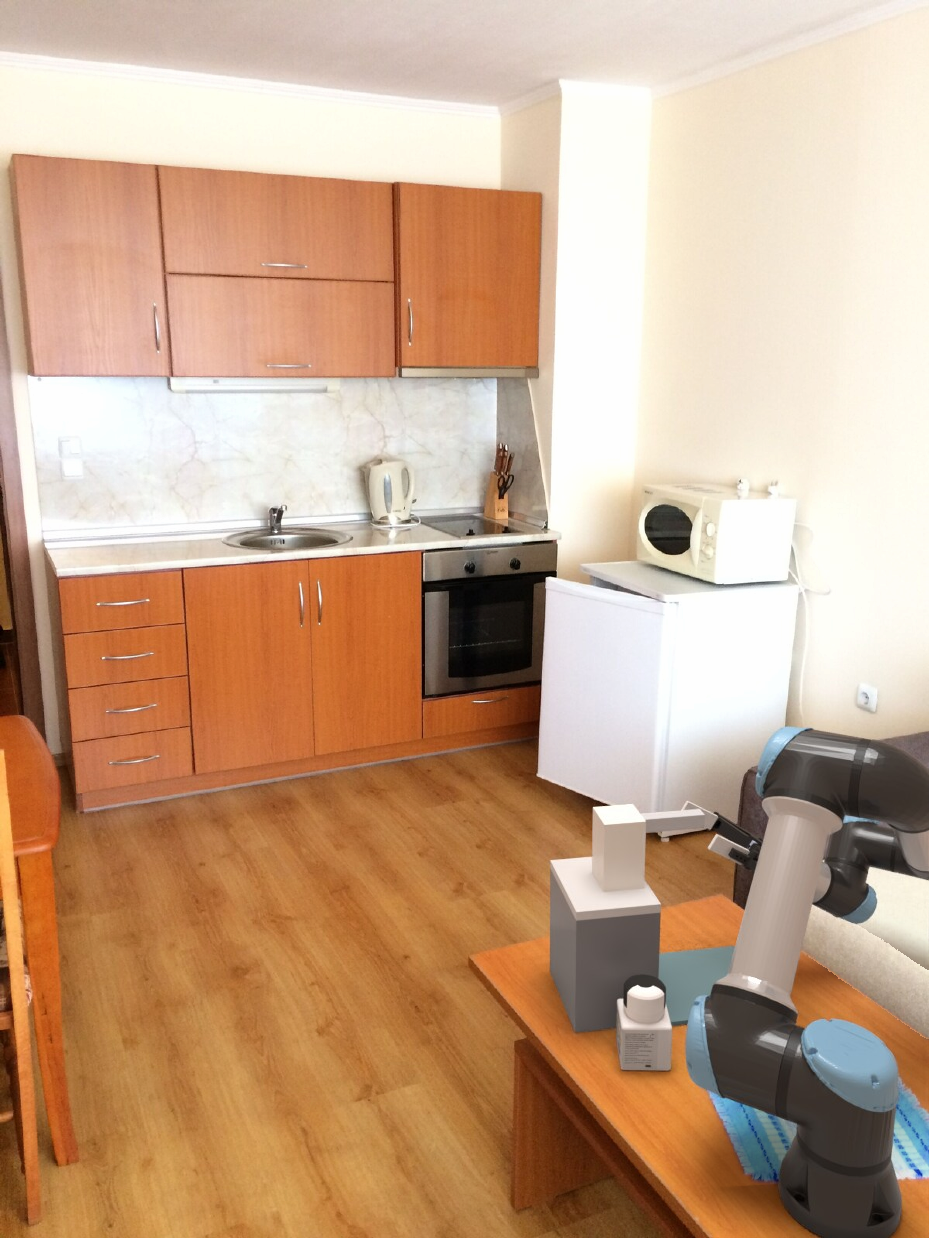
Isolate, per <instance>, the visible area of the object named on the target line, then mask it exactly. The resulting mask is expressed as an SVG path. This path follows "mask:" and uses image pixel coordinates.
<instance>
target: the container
mask: <svg viewBox="0 0 929 1238" xmlns="http://www.w3.org/2000/svg"><path fill="white" fill-rule="evenodd" d="M615 1031H616V1032H615V1035H616V1036H615V1040H616V1045H617V1046H616V1047H617V1054H618V1058H619V1065H620V1069H621V1070H622V1071H666V1072H667V1071H670V1070H671V1069H672V1046H673V1045H672V1043H673V1041H672V1040H673V1026H671V1022H670V1018H669V1014H668V1010H667V1006H666V987H665V985H664V983H663V982H662V981H661V980H660V979H658V978H656V977H654V976H651V975H644V974H640V975H634V976H631V977H630V978H628V979H627V980H626V981H625V983H624V992H623V999H618V1000H617V1024H616V1029H615Z"/></svg>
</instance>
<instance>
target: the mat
mask: <svg viewBox="0 0 929 1238" xmlns="http://www.w3.org/2000/svg"><path fill="white" fill-rule="evenodd" d="M734 949H735V945H727V946H719V947H708V948H698V949H687V950H680V951H679V950H677V951H670V952H659V979H660V980H661V981H662V982H663V983H664V985H665V987H666V1006H667V1010H668V1014H669V1018H670V1022H671V1026H672V1027H675V1026H676V1027H677V1026H685V1025H686V1026H687V1024H688V1019H689V1014H690V1011H691V1008H692V1006H693V1004H694V1001H695V999H696V998H697V997H698V996H704V995H707V996H710V994H711V990H712V987H713V984H714V982H716V981H718V980H720V979H722V978H724V977H726V976H727V974H728V972H729V968H730V964H731V960H732V956H733V953H734Z"/></svg>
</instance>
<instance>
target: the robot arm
mask: <svg viewBox="0 0 929 1238" xmlns="http://www.w3.org/2000/svg"><path fill="white" fill-rule="evenodd" d="M754 783H755V791H756V794H757V795H758V797H760V798H761V799H762V801H761V807H762V809H763V811H764V812H765V814H766V816H767V817H768V821H767V823H766V824H767V825H766V829H765V832H764V836H763V839H762V838H761V837H758V836H756V835H755V834H752V833H751V832H750V831H747V830H746V829H744V828H743V827H741V826H740V825H738V824H736V823H734V822H733V821H731V820H730V819H728V818H727V817H725V816H723V815H722V814H720V813H719V812H718V811H713V812H712V811H709V810H707V809H705V808H704V807H701V806H699V805H697V804H695V803H693V802H691V801H689V800H686V801H685V802H684V804H683V806H682V808H681V809H680V810H692V809H700V810H701V811H702V812H703V813H704V814H705V825H704V828H706V829H705V830H706V831H707V832H710V831H711V830H713V831H714V832H716V833H715V835H714V837H713V838H712V840H711V842H710V843H709V845H708V846H707V849H708V850H709V851H710V852H713V853H716V854H717V855H719V856H722V857H724V858H725V859H727V860H729V861H731V862H733V863H736V864H738V865H740V866H742V865H743V868H744V869H745V870H747V871H751V872H750V874H751V875H752V876H753V878H752V881H751V885H750V889H749V891H748V892H749V893H748V896H747V899H746V904H745V907H744V912H743V915H742V918H741V923H740V927H739V930H738V935H737V938H736V942H735V945H734V946H735V949H734V953H733V956H732V960H731V964H730V968H729V972H728V974H727V976H726V977H724V978H722V979H720V980H718V981H716V982H714V984H713V987H712V990H711V994H710V996H707V995H704V996H698V997H697V998H696V999H695V1001H694V1004H693V1006H692V1008H691V1011H690V1014H689V1019H688V1024H687V1025H686V1033H685V1043H684V1044H685V1047H684V1048H685V1053H684V1055H685V1063H686V1064H685V1065H686V1069H687V1073H688V1076H689V1078H690V1079H691V1081H692V1082H693V1084H694V1085H696V1086H697V1087H698V1088H700V1089H703V1090H704V1091H705V1090H706V1091H708V1092H710V1093H712V1094H714V1095H717V1096H718V1097H719V1098H720V1099H722V1100H723V1099H727V1100H730V1101H734V1102H736V1103H738V1104H741V1105H744V1106H747V1107H748V1108H749V1107H750V1108H752V1109H755V1110H758V1111H760V1112H763V1113H767V1114H769V1115H772V1116H774V1117H777V1118H780V1119H783V1120H785V1121H788V1122H791V1123H794V1124H796V1130H795V1136H793V1137H794V1138H793V1139H792V1141H791V1143H790V1146H789V1147H788V1148H787V1151H786V1153H785V1155H784V1156H783V1158H782V1161H781V1163H780V1166H779V1171H778V1172H779V1173H778V1186H777V1187H778V1188H777V1189H778V1192H779V1193H778V1194H779V1198H780V1200H781V1202H782V1204H783V1206H784V1207H785V1209H786V1210H787V1212H788V1213H789V1215H790V1216H792V1217H793V1219H794V1220H795V1221H796V1222H798V1223H799V1224H800V1226H803V1227H804V1228H805V1229H807V1231H810V1232H812V1233H813V1234H815V1235H817V1236H819V1237H821V1238H889V1237H891V1236H892V1235H893V1234H894V1233H895V1232H896V1230H897V1229H898V1228H899V1225H900V1222H901V1216H902V1205H903V1199H902V1192H901V1188H900V1184H899V1182H898V1177H897V1175H896V1170H895V1167H894V1164H893V1160H892V1153H893V1144H894V1130H895V1122H896V1120H895V1119H896V1112H897V1105H898V1102H899V1101H900V1100H899V1099H900V1091H899V1090H900V1089H899V1066H898V1062H897V1059H896V1058H895V1056H894V1054H893V1052H892V1051H891V1050H890V1049H889V1048H888V1047H887V1045H886V1043H885V1042H884V1041H883V1040H882V1039H881V1038H879V1037H878V1036H877V1035H876V1034H874V1033H873V1032H872V1031H870V1030H869V1029H866V1028H865V1027H863V1026H861V1025H859V1024H856V1023H854V1022H851V1021H848V1020H844V1019H838V1018H830V1020H827V1019H825V1018H819V1019H816V1020H814V1021H812V1022H810V1023H809V1024H808V1025H806V1027H803V1026H799V1025H797V1021H798V1016H799V1011H798V1009H797V1007H796V1005H795V1004H794V1003H793V1000H792V998H791V994H792V990H793V987H794V981H795V978H796V973H797V970H798V965H799V962H800V956H801V952H802V949H803V945H804V944H803V943H804V941H805V935H806V932H807V929H808V928H807V927H808V924H809V919H810V914H811V912H812V911H811V910H812V906H813V907H816V908H819V909H820V910H822V911H824V912H825V913H827V914H830V915H832V916H833V917H834V918H837V919H838V918H839V919H842V920H844V921H846V922H849V923H850V924H855V925H857V924H858V925H859V924H864V923H866V922H867V921H868V920H869V919H871V918H872V916H873V915H874V914H875V911H876V909H877V907H878V906H877V905H878V898H877V892H876V890H875V889H874V888H873V887H872V886H871V885H869V883H867V880H868V874H869V869H870V868H872V869H877V870H883V871H886V872H890V873H895V874H900V875H905V876H909V877H913V878H917V879H920V880H925V881H929V767H928V766H927V765H926V764H924V762H922V761H921V760H920V759H918V758H917V757H916V756H914V755H913V754H911V753H909V751H906V750H905V749H904V748H903V749H902V748H901V747H899V746H897V745H895V744H893V743H889V742H887V741H883V740H879V739H878V740H877V739H870V738H864V737H859V736H854V735H847V734H840V733H835V732H830V731H824V730H819V729H814V728H813V727H797V726H790V725H789V726H788V725H787V726H783V727H780V728H778V729H777V730H776V731H774V732H773V734H772V735H771V736H770V737H769V738H768V740H767V742H766V744H765V746H764V748H763V750H762V753H761V755H760V758H759V760H758V764H757V773H756V775H755V782H754ZM880 822H881V823H885V824H887V825H888V826H883V825H880ZM717 833H718V834H717ZM825 851H826V852H825ZM824 855H825V857H824ZM823 860H824V861H823Z"/></svg>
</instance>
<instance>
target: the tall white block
mask: <svg viewBox="0 0 929 1238" xmlns="http://www.w3.org/2000/svg"><path fill="white" fill-rule="evenodd" d="M704 825H705V814H704V813H703V812H702V811H701V810H700V809H692V810H681V809H680V810H671V811H656V812H645V813H643V812H642V813H640V811H639V809H637V807H636V806H635V805H634V803H631V804H630V803H627V804H614V805H605V806H603V805H602V806H593V807H592V832H591V833H592V836H591V837H592V846H591V847H592V848H591V857H592V873H593V875H594V877H595V878H596V880H597V882H598V884H599V885H600V887H601V889H602V891H603V892H608V891H619V890H630V889H641V888H644V879H645V875H646V874H645V872H646V871H645V869H646V868H645V867H646V837H647V835H646V834H648V833H662V832H672V831H675V832H676V831H686V830H696V829H705V827H704Z"/></svg>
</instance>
